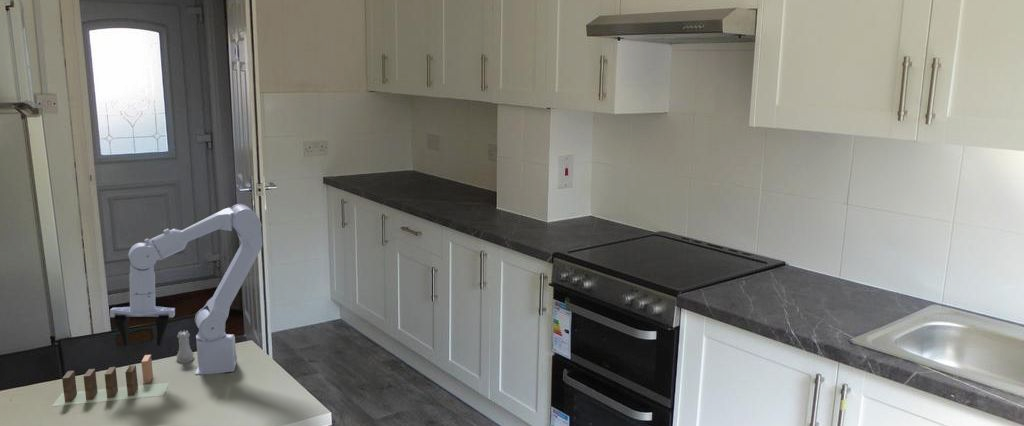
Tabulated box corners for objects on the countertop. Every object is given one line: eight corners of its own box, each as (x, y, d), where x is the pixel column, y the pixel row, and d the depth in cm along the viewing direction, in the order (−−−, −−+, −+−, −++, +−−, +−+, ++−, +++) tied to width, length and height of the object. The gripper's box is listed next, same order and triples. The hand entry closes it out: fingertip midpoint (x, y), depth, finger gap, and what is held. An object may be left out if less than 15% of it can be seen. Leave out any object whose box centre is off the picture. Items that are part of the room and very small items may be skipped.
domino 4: (138, 388, 186) (135, 365, 185) (134, 395, 182) (131, 372, 181) (131, 388, 186) (129, 365, 185) (127, 396, 181) (125, 372, 180)
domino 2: (97, 392, 184) (95, 368, 183) (92, 399, 180) (90, 375, 178) (91, 392, 183) (88, 369, 182) (86, 400, 179) (83, 376, 178)
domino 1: (77, 394, 183) (74, 370, 182) (71, 401, 178) (68, 377, 177) (70, 394, 182) (67, 371, 181) (64, 402, 178) (62, 378, 177)
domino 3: (117, 390, 185) (115, 366, 184) (113, 397, 181) (111, 373, 180) (111, 390, 185) (109, 367, 183) (107, 398, 180) (104, 374, 179)
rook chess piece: (197, 357, 207) (194, 329, 205) (190, 363, 202) (188, 334, 201) (180, 357, 207) (178, 329, 205) (173, 363, 202) (171, 335, 201)
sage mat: (169, 383, 189) (169, 382, 189) (163, 396, 182) (163, 395, 182) (62, 394, 183) (62, 392, 183) (51, 407, 176) (51, 406, 176)
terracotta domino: (153, 376, 194) (151, 354, 193) (149, 383, 190) (147, 361, 188) (147, 377, 193) (145, 355, 192) (143, 384, 189) (141, 361, 188)
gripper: (105, 295, 182) (106, 349, 184) (169, 296, 185) (170, 349, 187) (114, 288, 189) (115, 340, 191) (176, 288, 192) (177, 340, 194)
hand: (143, 344), depth 190 cm, fingers open, 7 cm apart
